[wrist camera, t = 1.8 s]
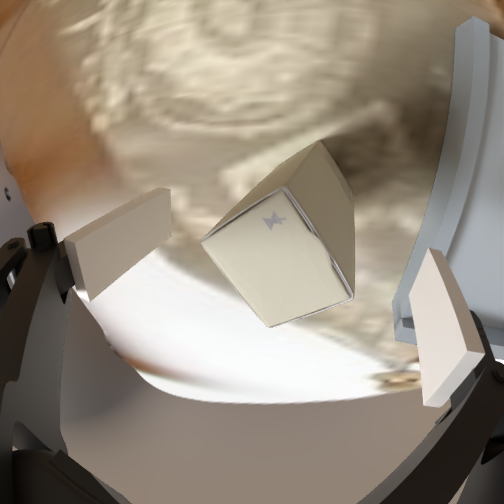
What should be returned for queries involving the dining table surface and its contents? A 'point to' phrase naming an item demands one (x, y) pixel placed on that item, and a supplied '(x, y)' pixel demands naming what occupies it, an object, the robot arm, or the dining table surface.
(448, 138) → the blue-grey tray
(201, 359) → the dining table surface
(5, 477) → the robot arm
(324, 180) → the box
